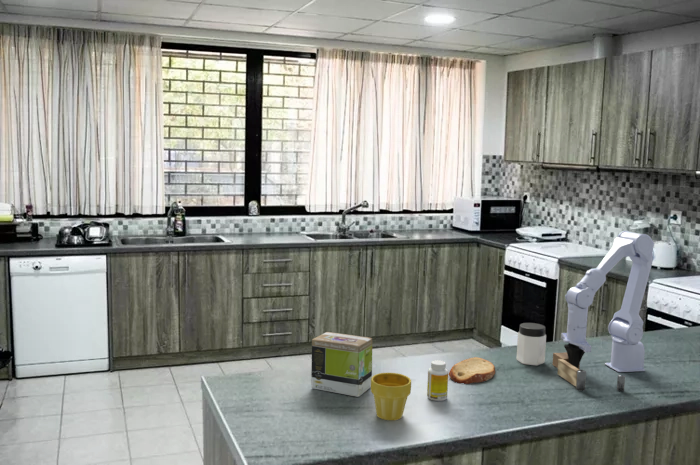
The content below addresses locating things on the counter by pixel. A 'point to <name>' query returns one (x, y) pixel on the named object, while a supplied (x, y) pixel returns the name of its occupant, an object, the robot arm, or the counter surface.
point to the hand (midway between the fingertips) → (574, 367)
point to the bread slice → (472, 371)
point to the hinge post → (581, 380)
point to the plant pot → (390, 394)
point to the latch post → (620, 383)
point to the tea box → (341, 363)
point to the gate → (567, 371)
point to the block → (560, 356)
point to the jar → (531, 344)
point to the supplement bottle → (437, 381)
